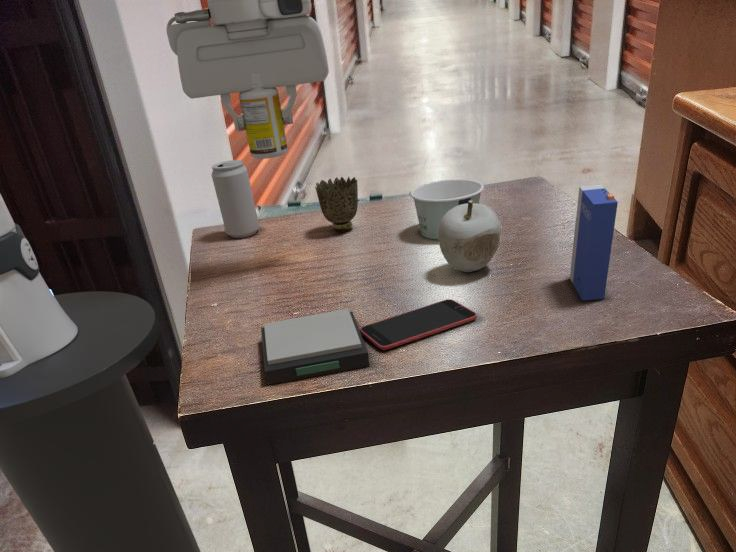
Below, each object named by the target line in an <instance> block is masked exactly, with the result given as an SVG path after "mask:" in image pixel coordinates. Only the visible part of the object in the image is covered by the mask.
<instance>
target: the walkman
mask: <svg viewBox="0 0 736 552" xmlns="http://www.w3.org/2000/svg"><path fill="white" fill-rule="evenodd" d="M618 203H619V202H618V201H617V199H616V198H615V195H614V194H613V193H610V192H609V191H608V190H607V189H606V187H604V186H603V184H592V185H591V184H589V185H579V187H578V196H577V207H576V215H575V222H574V233H573V242H572V243H573V244H572V253H571V262H570V273H569V279H570V281H571V283H572V285H573V287H574V288H575V290H576V292H577V294H578V296H579V297H580V299H581V301H583V302H585V301H596V300H597V301H598V300H604V299H605V296H606V289H607V281H608V273H609V267H610V260H611V252H612V245H613V241H614V240H613V239H614V232H615V225H616V217H617V211H618V210H617V209H618Z"/></svg>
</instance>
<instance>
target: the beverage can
mask: <svg viewBox="0 0 736 552" xmlns="http://www.w3.org/2000/svg"><path fill="white" fill-rule="evenodd" d="M211 169H212V171H211V179H212V182H213V186H214V191H215V195H216V200H217V202H218V206H219V211H220V214H221V218H222V222H223V227H224V229H225V233H226V234H227V235H228V236H230V238H234V239H242V238H249V237H251V236H254V235H256V234H257V232H258V231H259V230H260V222H259V218H258V212H257V208H256V204H255V200H254V195H253V190H252V185H251V181H250V177H249V172H248V168H247V167H246V166H245V165H244V161H243V160H240V159H233V160H224V161H221V162H217V163H215V164H213V165H212V166H211Z"/></svg>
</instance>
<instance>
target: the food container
mask: <svg viewBox="0 0 736 552" xmlns="http://www.w3.org/2000/svg"><path fill="white" fill-rule="evenodd" d="M484 189H485V185H484V184H483V183H481V182H480V181H478V180H473V179H465V178H452V179H451V178H450V179H442V180H436V181H431V182H427V183H424V184H421V185H418V186H416V187H414V188H413V189H412V190H411V192H410V197H411V198H412V199H413V203H414V207H415V211H416V216H417V220H418V226H419V230H420V234H421V235H422V236H423V237H424V238H427V239H431V240H438V241H439V236H438V231H439V226H440V222H441V220H442V218H443V217H444V215H445V214H446V213H447V212H448V211H449V210H451V209H452V208H454V207H456V206H458V205H461V204H467V203H468V201H469V200H472V201H473V203H477V204H480V200H481V194H482V192H483V191H484Z"/></svg>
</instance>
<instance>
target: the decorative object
mask: <svg viewBox="0 0 736 552" xmlns="http://www.w3.org/2000/svg"><path fill="white" fill-rule="evenodd" d="M501 225H502V224H501V221H500V219H499V216H498V215H497V213H496V212H495V211H494V210H493V209H492V208H491V207H489V206H487V205H485V204H482V203H479V204H477V203H473V201H472V200H469V201H468V203H467V204H461V205H458V206H456V207H454V208H452V209H451V210H449V211H448V212H447V213H446V214H445V215H444V217H443V218H442V220H441V222H440V226H439V231H438V236H439V240H438V244H439V248H440V251H441V252H440V253H441V254H442V255H443V258H444V259H445V261H446V262H447V263H448V265H449V266H451V267H452V268H453V269H455V270H457V271H460V272H462V273H473V272H476V271H479V270H481V269H482V268H484V267H486V266H487V265H488V264H489V263H490V262H491V261H492V259H493V257H495V254H496V253H497V251H498V248H499V245H500V240H501V234H502V227H501Z"/></svg>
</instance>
